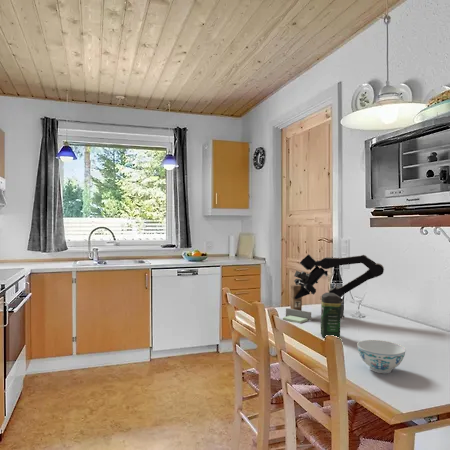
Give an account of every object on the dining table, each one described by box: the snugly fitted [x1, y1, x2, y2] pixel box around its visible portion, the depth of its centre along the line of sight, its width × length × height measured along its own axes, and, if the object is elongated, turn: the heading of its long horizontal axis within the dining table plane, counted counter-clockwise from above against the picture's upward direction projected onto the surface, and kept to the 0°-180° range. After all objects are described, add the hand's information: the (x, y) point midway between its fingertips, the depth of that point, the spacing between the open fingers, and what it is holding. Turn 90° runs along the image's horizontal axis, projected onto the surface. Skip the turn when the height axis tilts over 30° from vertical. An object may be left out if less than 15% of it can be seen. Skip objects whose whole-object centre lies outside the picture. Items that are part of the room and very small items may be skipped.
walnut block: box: [289, 284, 303, 311], centre depth 211 cm, size 4×5×13 cm
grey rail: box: [285, 307, 312, 322], centre depth 205 cm, size 14×1×4 cm, turn 50°
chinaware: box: [356, 339, 407, 374], centre depth 134 cm, size 15×15×8 cm
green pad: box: [282, 315, 308, 324], centre depth 200 cm, size 10×7×1 cm
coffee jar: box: [320, 292, 342, 338], centre depth 172 cm, size 10×8×19 cm
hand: (293, 297), depth 210 cm, fingers closed on walnut block, 4 cm apart
